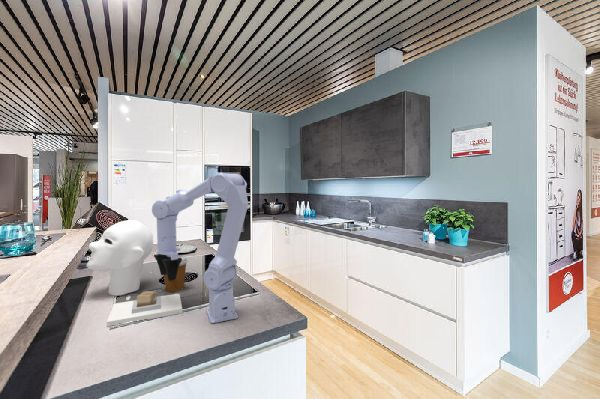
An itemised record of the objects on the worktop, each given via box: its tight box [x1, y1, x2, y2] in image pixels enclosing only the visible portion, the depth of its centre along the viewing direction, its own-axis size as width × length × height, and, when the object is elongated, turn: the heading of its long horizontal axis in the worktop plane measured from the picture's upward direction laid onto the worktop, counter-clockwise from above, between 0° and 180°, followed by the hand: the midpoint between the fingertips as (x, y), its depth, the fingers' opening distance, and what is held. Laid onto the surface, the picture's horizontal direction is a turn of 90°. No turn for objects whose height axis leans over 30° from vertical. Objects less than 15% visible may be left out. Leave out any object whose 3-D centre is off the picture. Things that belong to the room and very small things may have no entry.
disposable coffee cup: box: [163, 255, 188, 293], centre depth 112 cm, size 10×10×12 cm
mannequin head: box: [86, 219, 154, 297], centre depth 110 cm, size 18×23×28 cm
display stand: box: [106, 293, 183, 328], centre depth 93 cm, size 14×20×3 cm
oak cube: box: [136, 291, 157, 307], centre depth 93 cm, size 4×4×4 cm
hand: (168, 277), depth 97 cm, fingers open, 7 cm apart
